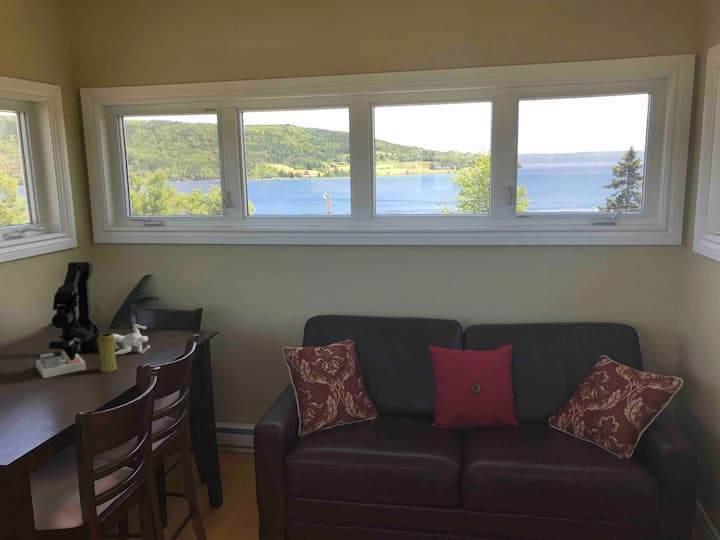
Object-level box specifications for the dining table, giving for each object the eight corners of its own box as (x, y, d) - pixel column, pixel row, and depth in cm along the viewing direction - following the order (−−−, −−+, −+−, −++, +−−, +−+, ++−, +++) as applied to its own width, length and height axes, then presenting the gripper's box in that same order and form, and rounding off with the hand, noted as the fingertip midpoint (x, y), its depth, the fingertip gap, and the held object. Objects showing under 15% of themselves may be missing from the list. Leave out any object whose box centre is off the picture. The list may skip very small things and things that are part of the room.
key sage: (73, 355, 232) (72, 349, 232) (75, 358, 229) (75, 351, 228) (61, 357, 230) (61, 351, 229) (64, 360, 226) (63, 353, 226)
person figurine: (100, 333, 236) (144, 321, 241) (104, 332, 248) (146, 321, 254) (107, 363, 236) (152, 351, 241) (111, 360, 248) (153, 349, 254)
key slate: (53, 359, 228) (52, 352, 227) (55, 362, 224) (54, 355, 224) (41, 361, 225) (40, 354, 225) (42, 364, 222) (42, 357, 221)
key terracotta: (78, 363, 227) (77, 357, 226) (80, 366, 223) (79, 359, 223) (66, 366, 224) (65, 359, 224) (68, 369, 221) (67, 362, 220)
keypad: (77, 360, 235) (76, 353, 234) (86, 369, 223) (85, 362, 223) (36, 367, 226) (35, 360, 225) (43, 377, 214) (42, 370, 214)
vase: (99, 373, 219) (96, 337, 216) (102, 368, 224) (98, 333, 222) (116, 371, 220) (113, 336, 218) (118, 366, 226) (115, 332, 224)
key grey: (56, 363, 222) (56, 357, 221) (59, 366, 218) (58, 359, 218) (44, 366, 219) (43, 359, 219) (46, 369, 216) (45, 362, 215)
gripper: (73, 328, 211) (77, 368, 213) (101, 316, 229) (104, 353, 231) (45, 327, 212) (49, 367, 214) (76, 315, 230) (79, 352, 233)
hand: (72, 359), depth 223 cm, fingers closed, pressing on key terracotta
